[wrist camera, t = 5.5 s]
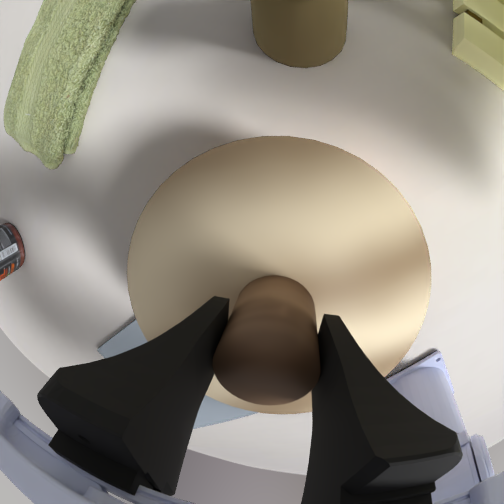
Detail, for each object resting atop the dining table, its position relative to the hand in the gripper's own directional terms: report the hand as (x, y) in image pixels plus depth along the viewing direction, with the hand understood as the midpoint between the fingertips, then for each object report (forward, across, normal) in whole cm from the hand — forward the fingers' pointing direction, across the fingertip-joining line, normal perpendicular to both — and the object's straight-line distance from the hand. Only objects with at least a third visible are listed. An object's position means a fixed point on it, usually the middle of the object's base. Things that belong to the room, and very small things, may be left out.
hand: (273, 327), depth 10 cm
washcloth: (+10, +21, -14) cm, 27 cm away
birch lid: (+2, 0, 0) cm, 3 cm away
